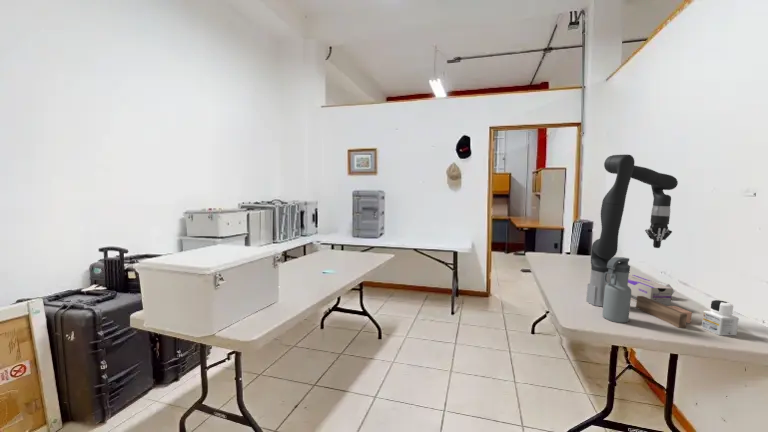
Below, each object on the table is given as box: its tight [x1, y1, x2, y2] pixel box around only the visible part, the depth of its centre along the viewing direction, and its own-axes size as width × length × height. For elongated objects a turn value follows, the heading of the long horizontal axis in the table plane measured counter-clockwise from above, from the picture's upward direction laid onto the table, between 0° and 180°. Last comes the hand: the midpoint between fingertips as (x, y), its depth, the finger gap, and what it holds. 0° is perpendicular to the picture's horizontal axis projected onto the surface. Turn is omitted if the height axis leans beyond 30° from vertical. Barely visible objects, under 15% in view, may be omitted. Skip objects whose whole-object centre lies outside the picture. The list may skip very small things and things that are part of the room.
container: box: [701, 299, 740, 336], centre depth 144 cm, size 8×8×13 cm
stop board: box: [635, 296, 687, 329], centre depth 159 cm, size 3×24×6 cm, turn 2°
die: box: [658, 282, 675, 295], centre depth 189 cm, size 8×9×10 cm
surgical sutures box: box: [628, 274, 674, 306], centre depth 183 cm, size 25×11×11 cm, turn 1°
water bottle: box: [601, 256, 632, 324], centre depth 153 cm, size 10×10×28 cm
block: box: [668, 305, 693, 324], centre depth 157 cm, size 8×8×5 cm
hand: (656, 247), depth 178 cm, fingers closed
